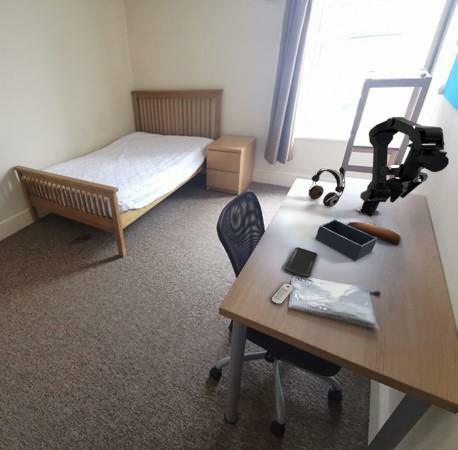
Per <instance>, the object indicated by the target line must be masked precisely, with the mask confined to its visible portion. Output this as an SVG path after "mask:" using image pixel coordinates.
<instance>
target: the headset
mask: <svg viewBox="0 0 458 450" xmlns="http://www.w3.org/2000/svg"><path fill="white" fill-rule="evenodd" d="M314 172H315V173H314V175H312V176H311V181H312V184H311V185H310V186H309V188H308V197H309V198H310V199H311V200H319V199H320V198H321V197H322V196H323V194H324V191H325V190H324V189H325V188H323V186H322V185H319V184H317V183H318V182H319V180H320V178H321V175H322V174H323V173H324V172H327V173H330V174H331V175H332V176H333V177H334V179H335V181H336V186H335V188H334V191H330V192H328V193H327V194H326V195H325V196H323V199H322V204H323V206H325V207H329V208H332V207H334V206H336V205H337V204H338V203H339V200H340V198H341V197H342V195H343V193H344V192H345V187H346V177H345V168H344V167H342V166H341V167H339V170H336V169H334V168H331V167H323V168H319V170H317V169H316V170H315V171H314ZM314 184H315V185H314Z"/></svg>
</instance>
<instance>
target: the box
mask: <svg viewBox="0 0 458 450" xmlns="http://www.w3.org/2000/svg"><path fill="white" fill-rule="evenodd" d="M378 240H379V238H378V237H374V236H371V235H369V234H367V233H364V232H362V231H360V230H358V229H355V228H353V227H351V226H349V225H348V223H345V222H342V221H340V220H338V219H336V218H335V219H332V220H330V221H327V222H326V223H323V224H321V225H319V226H318V229H317V232H316V235H315V241H317V242H319V243H321V244H323V245H325V246H326V247H328V248H330V249H332V250H334V251H336V252H337V253H340V254H342V255H343V256H345V257H346V258H349V259H351V260H353V261H355V262H357V261H359V260H360V259H362V258H364V257H366V256H368V255H369V254H370V255H371V253H372V252H373V250H374V247H375V245H376V243H377V241H378Z"/></svg>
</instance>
